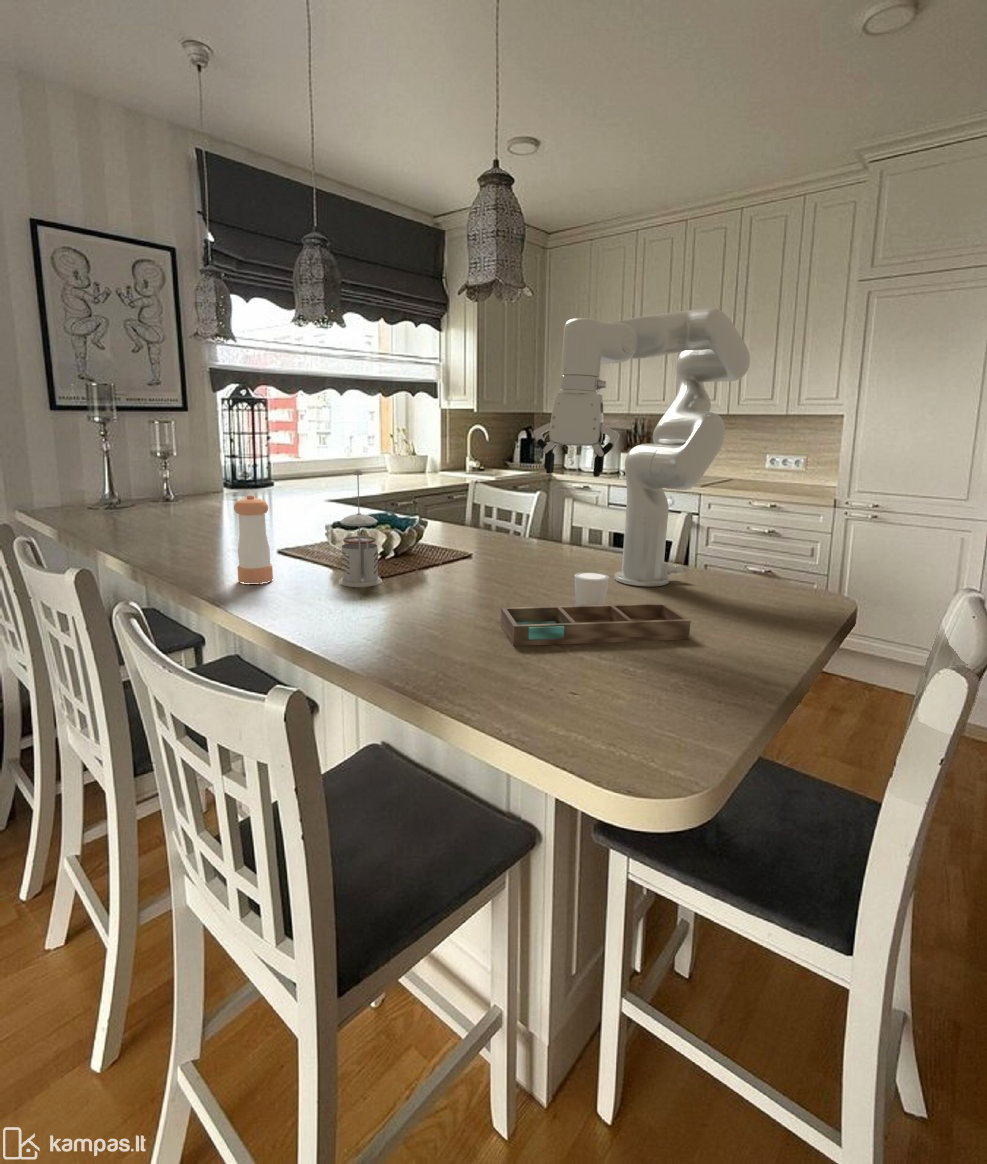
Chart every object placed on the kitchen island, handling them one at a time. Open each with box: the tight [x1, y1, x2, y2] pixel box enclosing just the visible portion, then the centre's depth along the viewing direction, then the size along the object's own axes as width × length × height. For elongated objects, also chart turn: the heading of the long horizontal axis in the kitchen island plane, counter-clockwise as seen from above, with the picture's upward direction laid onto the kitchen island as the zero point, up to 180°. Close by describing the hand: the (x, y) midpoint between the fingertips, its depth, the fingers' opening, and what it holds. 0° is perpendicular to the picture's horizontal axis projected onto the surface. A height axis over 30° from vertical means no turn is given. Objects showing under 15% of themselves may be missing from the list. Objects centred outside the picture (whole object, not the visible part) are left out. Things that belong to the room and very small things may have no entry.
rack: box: [500, 602, 691, 647], centre depth 119 cm, size 31×12×3 cm, turn 100°
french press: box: [338, 469, 383, 588], centre depth 148 cm, size 10×12×25 cm
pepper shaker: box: [233, 494, 274, 583], centre depth 147 cm, size 7×7×19 cm
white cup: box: [574, 571, 610, 606], centre depth 133 cm, size 7×7×7 cm
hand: (572, 474), depth 135 cm, fingers open, 9 cm apart
